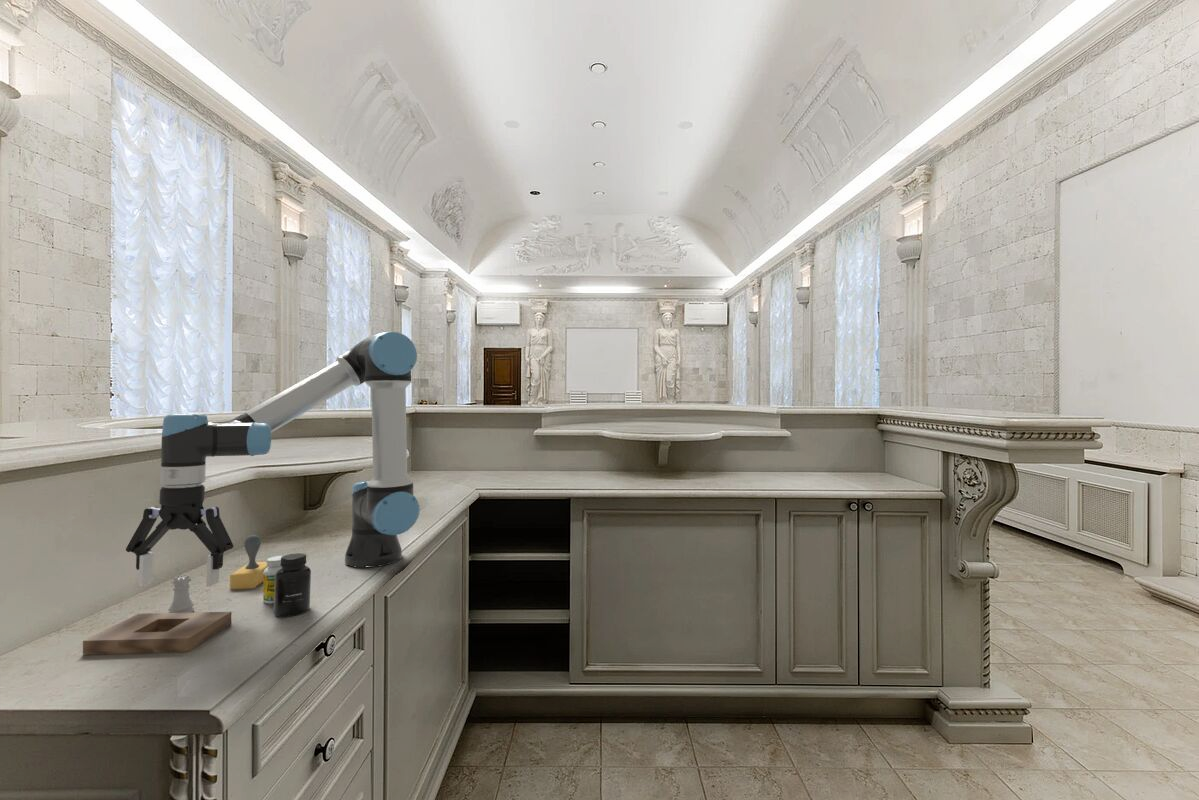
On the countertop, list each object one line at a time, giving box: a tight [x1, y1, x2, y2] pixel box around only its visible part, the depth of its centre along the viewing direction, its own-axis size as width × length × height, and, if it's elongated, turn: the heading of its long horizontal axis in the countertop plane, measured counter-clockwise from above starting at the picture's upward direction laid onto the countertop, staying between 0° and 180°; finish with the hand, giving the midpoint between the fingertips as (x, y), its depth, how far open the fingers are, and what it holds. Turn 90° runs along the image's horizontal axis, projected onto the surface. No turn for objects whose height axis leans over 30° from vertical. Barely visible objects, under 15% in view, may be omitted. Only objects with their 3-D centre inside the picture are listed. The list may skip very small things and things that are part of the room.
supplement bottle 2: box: [273, 552, 312, 618], centre depth 112 cm, size 7×7×12 cm
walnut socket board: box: [82, 611, 232, 655], centre depth 98 cm, size 18×12×2 cm, turn 94°
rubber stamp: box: [229, 534, 268, 590], centre depth 130 cm, size 10×6×12 cm, turn 11°
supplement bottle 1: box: [262, 555, 283, 605], centre depth 118 cm, size 5×5×10 cm
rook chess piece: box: [168, 574, 195, 613], centre depth 110 cm, size 4×4×8 cm
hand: (179, 584), depth 110 cm, fingers open, 13 cm apart
